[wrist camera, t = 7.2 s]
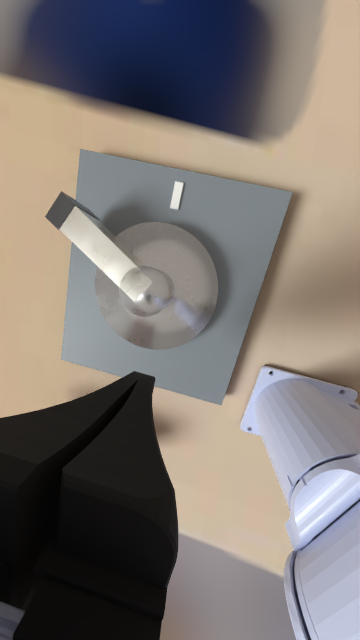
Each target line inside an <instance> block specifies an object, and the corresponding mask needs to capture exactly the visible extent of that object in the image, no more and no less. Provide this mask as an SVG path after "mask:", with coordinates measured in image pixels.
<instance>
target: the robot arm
mask: <svg viewBox="0 0 360 640" xmlns="http://www.w3.org/2000/svg"><path fill="white" fill-rule="evenodd" d="M270 371H273V373H271V374H269V372H270ZM155 380H156V379H155V377H154V376H150V375H147V374H143V373H140V372H136V371H133V372H131V373H130V374H128V375H126V376H124V377H122V378H121V379H119V380H117V381H115V382H113V383H111V384H110V385H108V386H106V387H103V388H101V389H99V390H97V391H95V392H93V393H90V394H88V395H86V396H83V397H80V398H78V399H75V400H72V401H69V402H66V403H63V404H59V405H56V406H52V407H49V408H46V409H42V410H37V411H33V412H29V413H24V414H20V415H15V416H9V417H4V418H0V640H159V639H160V630H161V622H162V619H163V616H164V611H165V603H166V593H167V586H168V583H169V580H170V577H171V574H172V571H173V569H174V566H175V563H176V559H177V553H178V519H177V508H176V499H175V491H174V488H173V485H172V483H171V480H170V478H169V475H168V473H167V470H166V467H165V464H164V461H163V458H162V455H161V452H160V448H159V445H158V441H157V437H156V432H155V427H154V421H153V411H152V393H153V389H154V384H155ZM340 390H342V391H341V392H340ZM357 396H358V393H357V392H356V391H355V390H354V389H351V388H348V387H344V386H340V385H336V384H333V383H329V382H325V381H321V380H318V379H314V378H310V377H306V376H303V375H299V374H295V373H291V372H288V371H284V370H280V369H276V368H273V367H269V366H263V367H262V368H261V370H260V372H259V375H258V378H257V380H256V383H255V386H254V389H253V391H252V394H251V397H250V399H249V402H248V405H247V407H246V410H245V413H244V415H243V418H242V421H241V423H240V427H241V430H242V431H245V432H248V433H252V434H255V435H259V436H261V437H262V439H263V442H264V445H265V447H266V450H267V452H268V455H269V458H270V460H271V463H272V465H273V468H274V470H275V473H276V476H277V478H278V481H279V483H280V486H281V489H282V491H283V494H284V496H285V499H286V502H287V504H288V507H289V509H290V512H291V515H290V518H289V520H288V521H287V522H286V524H285V526H286V529H287V532H288V535H289V538H290V541H291V544H292V546H293V549H294V551H292V552H291V553H290V554H289V555H288V557H287V560H286V562H285V568H284V586H285V595H286V600H287V605H288V609H289V615H290V618H291V622H292V625H293V629H294V633H295V636H296V639H297V640H360V405H359V404H357V403H356V402H355V400H356V398H357ZM248 427H251V428H248Z"/></svg>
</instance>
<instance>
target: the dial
mask: <svg viewBox="0 0 360 640" xmlns="http://www.w3.org/2000/svg"><path fill="white" fill-rule="evenodd" d="M45 217H46V218H47V219H48V220H49V221H50V222H51V223H52V224H53V225H54V226H55V227H56V228H57V229H59V230H61V231H62V232H63V233H64V234H65V235H66V236H67V237H68V238H69V239H70V240H71V241H72V242H73V243H74V244H75V245H76V246H77V247H78V248H79V249H80V250H81V251H82V252H83V253H84V254H85V255H86V256H87V257H89V258H90V259H91V260H92V261H93V262H94V263H95V264H96V265H97V270H96V275H95V292H96V298H97V302H98V305H99V308H100V310H101V313H102V315H103V316H104V318H105V320H106V321H107V323H108V324H109V325H110V327H111V328H112V329H113V330H114V331H115V332H116V333H117V334H118V335H119V336H121V337H122V338H123V339H125V340H126V341H128V342H130V343H132V344H134V345H136V346H139V347H142V348H147V349H154V350H164V349H171V348H174V347H178V346H180V345H183V344H185V343H187V342H188V341H190V340H192V339H193V338H194V337H196V336H197V335H198V334H199V333H200V332H201V331H202V330H203V329H204V328H205V326H206V325H207V323H208V322H209V320H210V318H211V316H212V315H213V312H214V309H215V307H216V302H217V298H218V279H217V273H216V269H215V266H214V263H213V261H212V259H211V257H210V255H209V253H208V252H207V250H206V249H205V247H204V246H203V245H202V244H201V242H200V241H199V240H198V239H196V238H195V237H194V236H193V235H192V234H190V233H189V232H187V231H186V230H184V229H182V228H180V227H178V226H175V225H172V224H169V223H163V222H147V223H141V224H137V225H134V226H132V227H130V228H127V229H126V230H124V231H123V232H121V233H119V234H118V235H117V236H115V235H114V234H113V233H112V232H111V231H110V230H109V229H108V228H107V227H106V226H105V225H104V224H103V223H102V222H101V221H100V219H99V218H98V217H97V216H96V215H95V214H94V213H93V212H92V211H91V210H90V209H88V208H87V207H85V206H83V205H82V204H80V203H79V202H77V201H76V200H74V199H73V198H71V197H70V196H68V195H66V194H65V193H63V192H62V191H61V193H60V194H59V196H58V197H57V199H56V201H55V202H54V204H53V205H52V207H51V208H50V210H49V211H48V213H47V215H46V216H45Z"/></svg>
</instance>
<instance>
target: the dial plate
mask: <svg viewBox="0 0 360 640" xmlns="http://www.w3.org/2000/svg"><path fill="white" fill-rule="evenodd" d="M292 193H293V192H290V191H285V190H280V189H275V188H270V187H265V186H260V185H255V184H250V183H245V182H241V181H236V180H231V179H226V178H221V177H216V176H211V175H206V174H201V173H196V172H191V171H186V170H181V169H176V168H172V167H167V166H162V165H157V164H152V163H147V162H142V161H137V160H132V159H127V158H122V157H117V156H112V155H107V154H102V153H98V152H93V151H88V150H83V149H80V158H79V169H78V180H77V191H76V201H77V202H79V203H80V204H82V205H83V206H85V207H87V208H88V209H90V210H91V211H92V212H93V213H94V214H95V215H96V216H97V217H98V218H99V219H100V221H101V222H102V223H103V224H104V225H105V226H106V227H107V228H108V229H109V230H110V231H111V232H112V233H113V234H114V235H115V236H117V235H118V234H119V233H121V232H123V231H124V230H126V229H127V228H130V227H132V226H134V225H137V224H141V223H147V222H163V223H169V224H172V225H175V226H178V227H180V228H182V229H184V230H186V231H187V232H189V233H190V234H192V235H193V236H194V237H195V238H196V239H198V240H199V241H200V242H201V244H202V245H203V246H204V247H205V249H206V250H207V252H208V253H209V255H210V257H211V259H212V261H213V263H214V266H215V269H216V273H217V279H218V298H217V302H216V307H215V309H214V312H213V315H212V316H211V318H210V320H209V322H208V323H207V325H206V326H205V328H204V329H203V330H202V331H201V332H200V333H199V334H198V335H197V336H196V337H194V338H193V339H192V340H190V341H188V342H187V343H185V344H183V345H180V346H178V347H174V348H171V349H164V350H154V349H147V348H142V347H139V346H136V345H134V344H132V343H130V342H128V341H126V340H125V339H123V338H122V337H121V336H119V335H118V334H117V333H116V332H115V331H114V330H113V329H112V328H111V327H110V325H109V324H108V323H107V321H106V320H105V318H104V316H103V315H102V313H101V310H100V308H99V305H98V302H97V298H96V292H95V275H96V270H97V265H96V264H95V263H94V262H93V261H92V260H91V259H90V258H89V257H87V256H86V255H85V254H84V253H83V252H82V251H81V250H80V249H79V248H78V247H77V246H76V245H75V244H74V243H73V242H72V246H71V257H70V268H69V279H68V290H67V301H66V312H65V323H64V334H63V345H62V356H61V360H64V361H68V362H71V363H75V364H78V365H82V366H85V367H89V368H92V369H96V370H99V371H103V372H106V373H110V374H113V375H117V376H120V377H124V376H126V375H128V374H130V373H131V372H133V371H136V372H140V373H143V374H147V375H150V376H154V377H155V379H156V380H155V384H154V386H155V387H159V388H162V389H166V390H169V391H173V392H176V393H180V394H183V395H187V396H190V397H194V398H197V399H201V400H204V401H208V402H211V403H215V404H218V405H222V402H223V399H224V396H225V393H226V390H227V387H228V384H229V381H230V378H231V375H232V372H233V369H234V366H235V363H236V360H237V357H238V354H239V351H240V348H241V345H242V342H243V339H244V336H245V334H246V331H247V328H248V325H249V322H250V319H251V316H252V313H253V310H254V307H255V304H256V301H257V298H258V295H259V292H260V289H261V286H262V283H263V280H264V277H265V274H266V271H267V268H268V265H269V262H270V259H271V256H272V253H273V250H274V247H275V244H276V241H277V238H278V235H279V232H280V229H281V226H282V223H283V220H284V217H285V214H286V211H287V208H288V205H289V202H290V199H291V196H292Z"/></svg>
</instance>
